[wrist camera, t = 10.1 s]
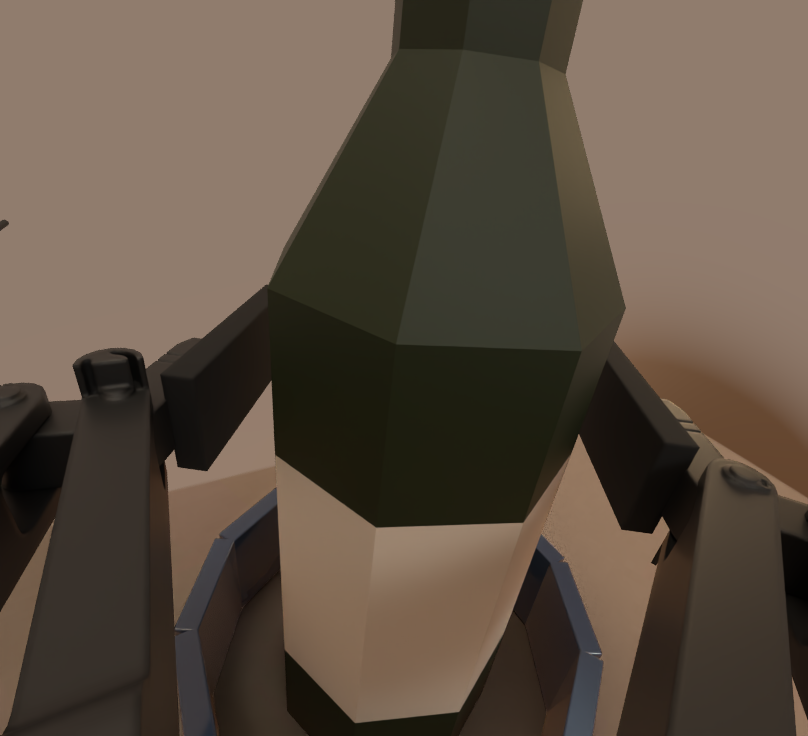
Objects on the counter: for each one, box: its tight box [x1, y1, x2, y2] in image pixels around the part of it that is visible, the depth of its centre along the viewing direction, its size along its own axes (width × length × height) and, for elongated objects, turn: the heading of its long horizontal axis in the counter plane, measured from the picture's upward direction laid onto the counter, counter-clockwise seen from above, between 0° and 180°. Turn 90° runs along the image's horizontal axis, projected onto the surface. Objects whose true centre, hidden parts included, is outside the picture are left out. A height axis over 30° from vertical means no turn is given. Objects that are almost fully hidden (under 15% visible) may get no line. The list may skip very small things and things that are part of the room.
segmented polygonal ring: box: [174, 487, 604, 736], centre depth 17 cm, size 15×15×4 cm
